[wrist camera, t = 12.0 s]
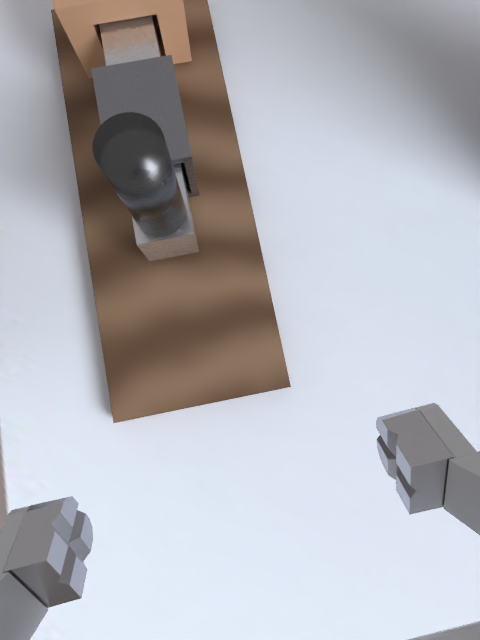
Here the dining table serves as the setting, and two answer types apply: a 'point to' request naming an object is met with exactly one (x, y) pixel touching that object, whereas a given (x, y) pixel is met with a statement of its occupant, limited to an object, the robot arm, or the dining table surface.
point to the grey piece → (143, 155)
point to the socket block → (119, 4)
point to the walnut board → (181, 271)
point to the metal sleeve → (148, 103)
